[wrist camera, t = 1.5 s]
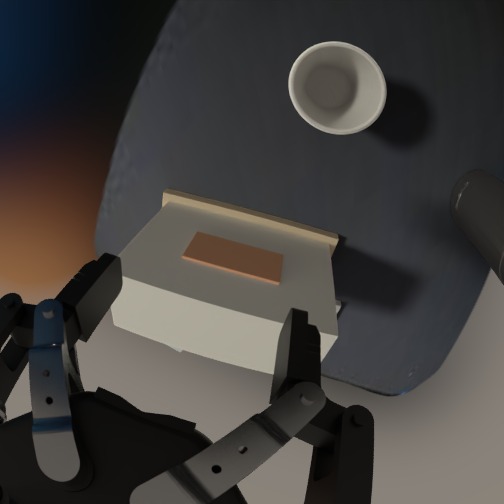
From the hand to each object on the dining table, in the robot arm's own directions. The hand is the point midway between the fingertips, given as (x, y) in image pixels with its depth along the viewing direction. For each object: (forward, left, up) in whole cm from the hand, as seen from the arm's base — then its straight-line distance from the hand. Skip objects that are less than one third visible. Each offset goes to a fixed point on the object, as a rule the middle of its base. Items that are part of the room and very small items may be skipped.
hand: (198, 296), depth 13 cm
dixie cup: (-5, -10, -26) cm, 29 cm away
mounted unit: (0, +13, -26) cm, 29 cm away
